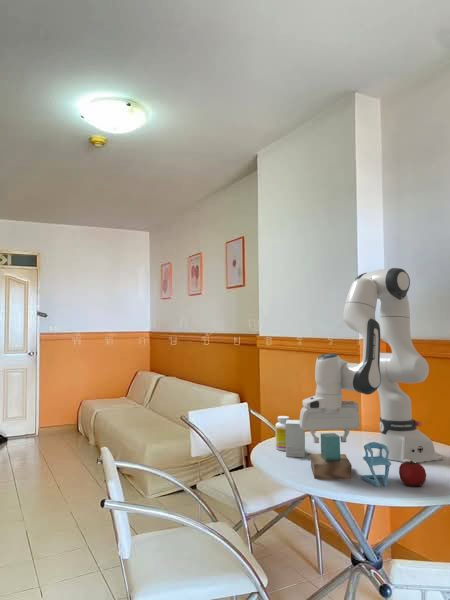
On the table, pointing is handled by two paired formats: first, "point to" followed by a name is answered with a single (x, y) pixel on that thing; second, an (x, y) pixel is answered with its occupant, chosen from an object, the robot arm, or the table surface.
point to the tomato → (412, 473)
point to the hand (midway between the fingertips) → (329, 442)
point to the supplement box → (295, 439)
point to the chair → (376, 463)
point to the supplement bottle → (281, 433)
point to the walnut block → (331, 468)
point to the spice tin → (330, 447)
